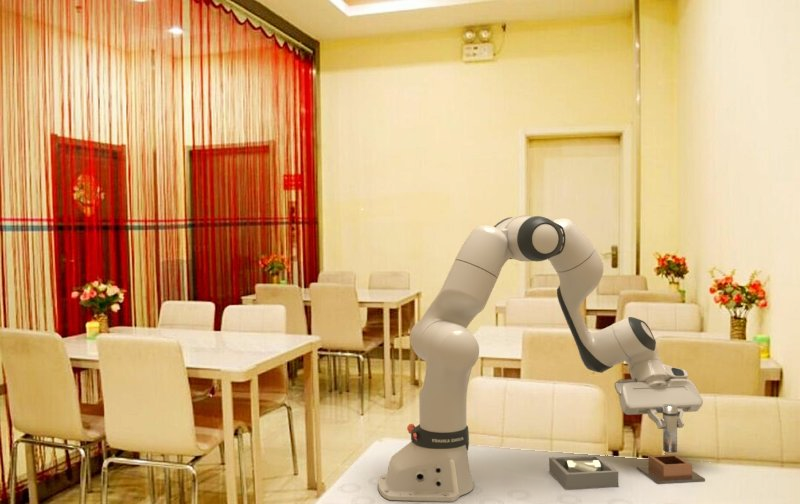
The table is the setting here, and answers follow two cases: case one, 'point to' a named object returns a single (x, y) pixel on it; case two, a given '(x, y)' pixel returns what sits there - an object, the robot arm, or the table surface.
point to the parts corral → (583, 473)
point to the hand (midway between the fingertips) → (671, 427)
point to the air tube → (670, 428)
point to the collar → (669, 470)
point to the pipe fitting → (582, 466)
